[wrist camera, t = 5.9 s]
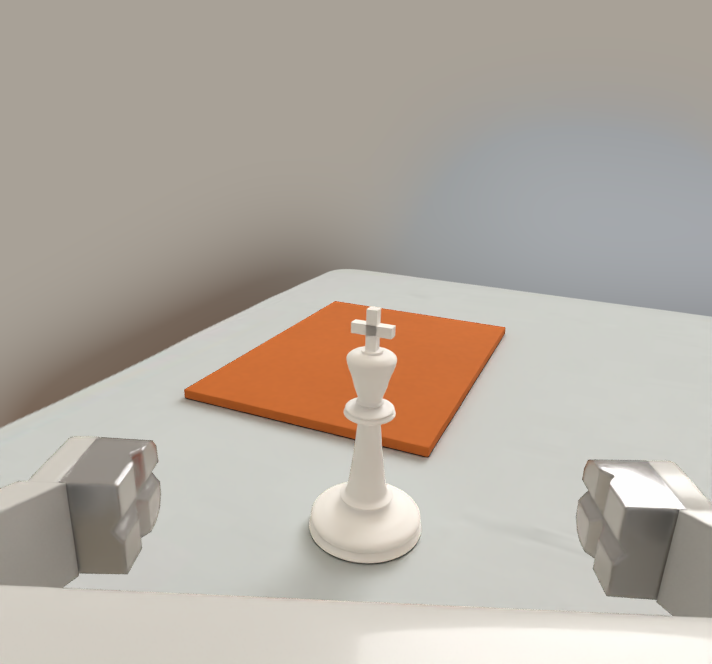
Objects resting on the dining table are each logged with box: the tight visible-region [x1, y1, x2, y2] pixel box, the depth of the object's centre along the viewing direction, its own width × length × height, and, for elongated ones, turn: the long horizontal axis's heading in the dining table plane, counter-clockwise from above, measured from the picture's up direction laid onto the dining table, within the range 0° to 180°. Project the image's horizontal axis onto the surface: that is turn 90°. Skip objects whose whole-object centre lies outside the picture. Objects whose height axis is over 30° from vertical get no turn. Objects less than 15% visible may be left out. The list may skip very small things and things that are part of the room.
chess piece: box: [309, 306, 421, 563], centre depth 25 cm, size 5×5×10 cm
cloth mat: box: [184, 301, 505, 457], centre depth 44 cm, size 22×16×1 cm
